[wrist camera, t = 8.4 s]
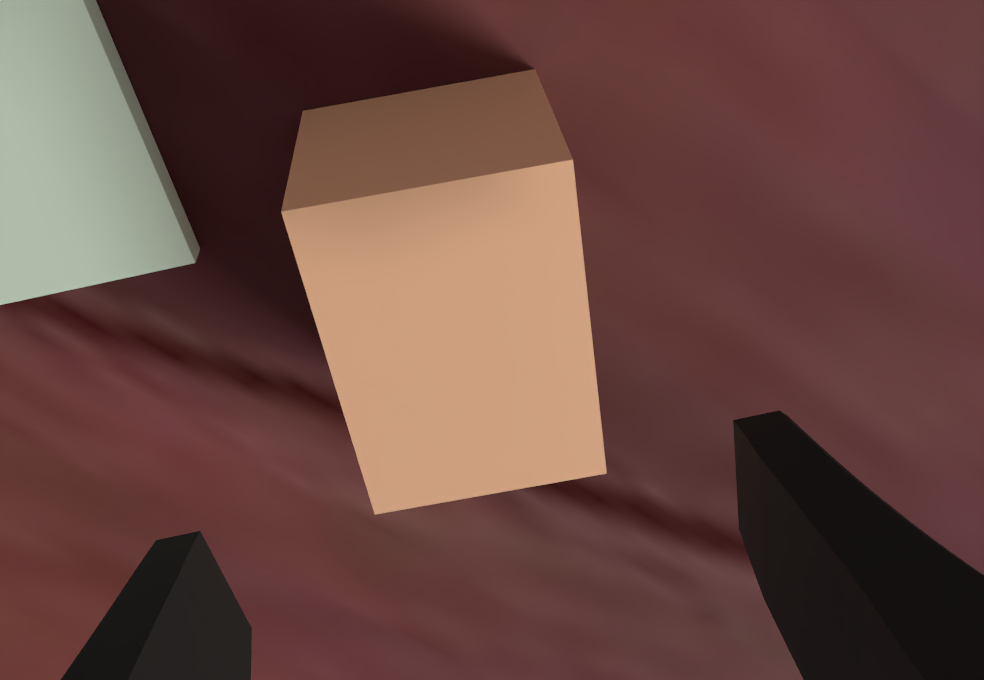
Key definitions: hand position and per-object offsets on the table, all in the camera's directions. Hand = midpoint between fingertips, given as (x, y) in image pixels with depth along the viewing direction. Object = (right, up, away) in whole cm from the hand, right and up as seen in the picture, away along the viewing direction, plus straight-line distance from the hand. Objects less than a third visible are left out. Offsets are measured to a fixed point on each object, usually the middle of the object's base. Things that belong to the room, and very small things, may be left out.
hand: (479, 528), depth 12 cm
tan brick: (-1, +5, +7) cm, 9 cm away
